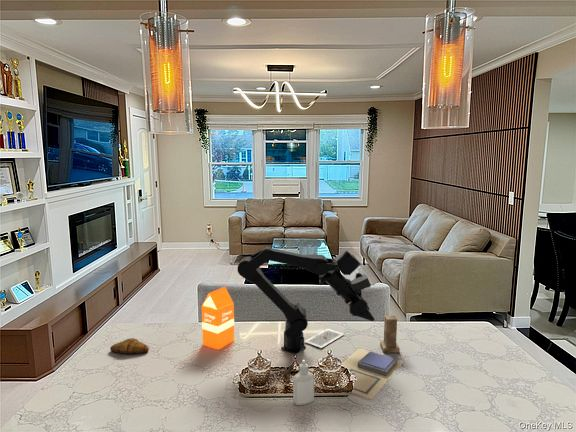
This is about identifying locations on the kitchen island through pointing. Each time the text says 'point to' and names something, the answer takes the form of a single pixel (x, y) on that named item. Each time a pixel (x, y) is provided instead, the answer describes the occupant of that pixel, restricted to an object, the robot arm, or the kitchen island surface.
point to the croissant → (130, 347)
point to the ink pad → (377, 363)
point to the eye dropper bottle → (303, 386)
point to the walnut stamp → (390, 335)
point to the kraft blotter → (366, 375)
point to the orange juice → (218, 319)
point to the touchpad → (324, 338)
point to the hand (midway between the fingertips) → (371, 314)
